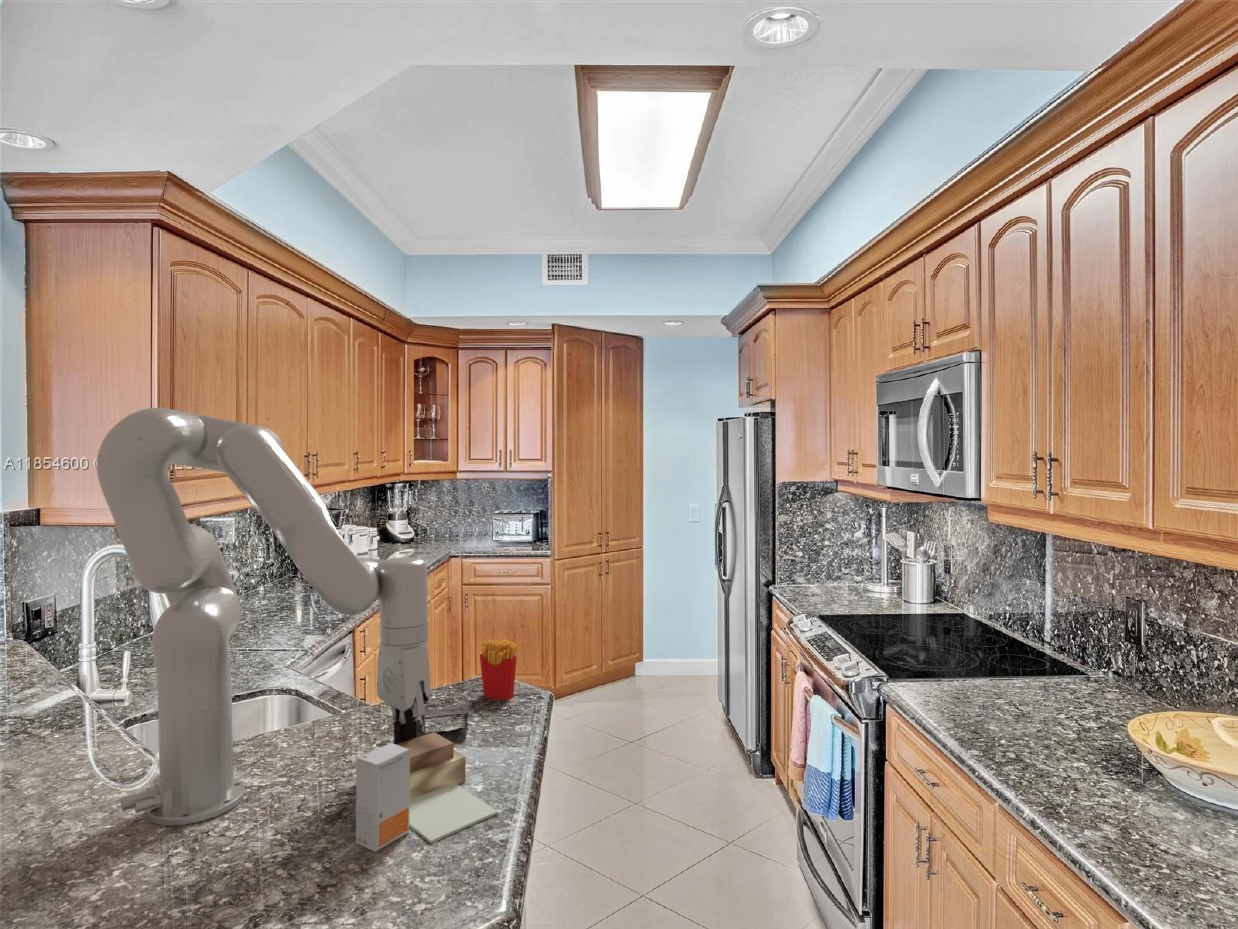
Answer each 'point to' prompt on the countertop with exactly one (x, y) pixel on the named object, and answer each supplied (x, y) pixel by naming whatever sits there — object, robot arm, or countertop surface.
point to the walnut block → (428, 750)
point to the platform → (437, 776)
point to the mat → (446, 812)
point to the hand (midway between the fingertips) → (405, 744)
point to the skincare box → (382, 796)
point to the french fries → (498, 669)
